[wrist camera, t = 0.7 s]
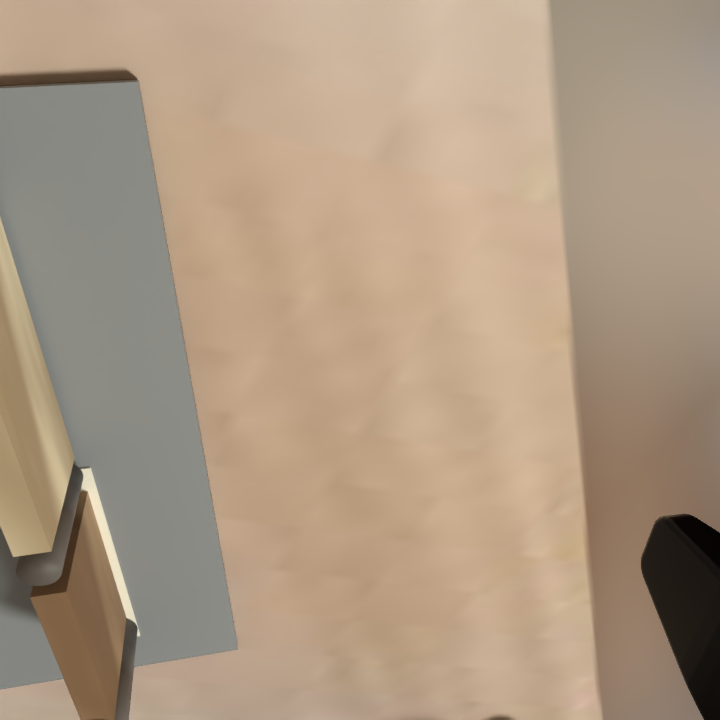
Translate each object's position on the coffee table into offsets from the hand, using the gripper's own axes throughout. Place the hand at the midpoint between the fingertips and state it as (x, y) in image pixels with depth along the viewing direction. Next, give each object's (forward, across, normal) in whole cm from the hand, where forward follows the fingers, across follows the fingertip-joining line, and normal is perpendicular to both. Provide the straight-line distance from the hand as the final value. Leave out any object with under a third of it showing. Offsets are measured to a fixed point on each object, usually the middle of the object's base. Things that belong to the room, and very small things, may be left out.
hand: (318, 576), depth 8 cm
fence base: (+13, +7, +14) cm, 20 cm away
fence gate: (+13, +7, +4) cm, 15 cm away
